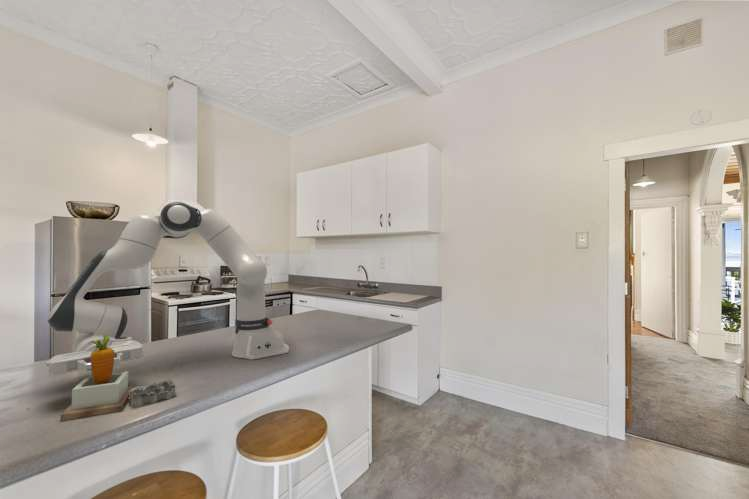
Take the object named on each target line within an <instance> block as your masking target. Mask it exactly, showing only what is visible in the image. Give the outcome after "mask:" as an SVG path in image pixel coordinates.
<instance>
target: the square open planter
mask: <svg viewBox="0 0 749 499" xmlns="http://www.w3.org/2000/svg"><path fill="white" fill-rule="evenodd" d="M128 386H129V371H128V370H127V371H120V372H112V375H111V378H110V380H109V383H108V384H100V385H96V384H95V382H94V379H93V375H88V376H85V377H84V378H83V379H82V380H81V381H80V382H79V383H78V384H77V385H75V387H74V388H72V390H71V404H72V410H73V409H80V408H86V407H93V406H99V405H105V404H112V403H118V402H119V401H120V399H121V398H122V397H123V395H124V394H125V392H126V391H127V389H128Z"/></svg>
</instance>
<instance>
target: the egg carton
mask: <svg viewBox="0 0 749 499" xmlns="http://www.w3.org/2000/svg"><path fill="white" fill-rule="evenodd" d="M176 389H177V387H176V384H175V383H174V381H173V380H172V378H168V379H166V380H163V381H159V382H158V383H157V382H153V383H151V384H147V385H143V386H142V385H140V386H139V385H138V386H135V387H134V388H133V389H131V390H130V391H129V401H128V402H129V403H130V406H131V408H134V407H135V408H136V407H137V408H139V407H143V405H146V404H149V403H152V404H154V403H157V402H158V401H160V400H164V399H165V400H168V399H169V400H170V399H172V398H173V397H174V396H176Z"/></svg>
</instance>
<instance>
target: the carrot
mask: <svg viewBox="0 0 749 499" xmlns="http://www.w3.org/2000/svg"><path fill="white" fill-rule="evenodd" d="M109 339H110V338H109V337H108V335H107V334H104V342H101V341H100V340H99V339H97V340H96V341H95V340H92V341H91V342H92V343H95V344H96V345H97V346H98V348H99V349H97V350H95V351H93V352H92V353H91V363H92V366H91V367H92V370H90V371H91V376H93V379H94V382H95V384H96V385H100V384H108V383H109V380H110V378H111V375H112V373H113V370H114V366H115V365H114V350H113V349H111V348H106V346H107V343H108V341H109Z"/></svg>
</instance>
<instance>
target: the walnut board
mask: <svg viewBox="0 0 749 499" xmlns="http://www.w3.org/2000/svg"><path fill="white" fill-rule="evenodd" d="M134 387H136V384H130V385H129V384H128V389H127V391H126V392H125V394H124V395H123V397H122V398H121V399H120V401H119V402H118V403H112V404H105V405H99V406H93V407H86V408H80V409H73V410H72V403H70V405H69V406H68V407H66V409H65V410H64V411H63V412H62V413H61V414H60V422H65V421H70V420H75V419H76V420H77V419H83V418H84V419H85V418H89V417H95V416H101V415H107V414H112V413H118V412H119V413H120V412H123V410H124V408H125V407H126V406H127V404H128V402H129V391H130V390H131V389H133V388H134Z"/></svg>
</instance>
